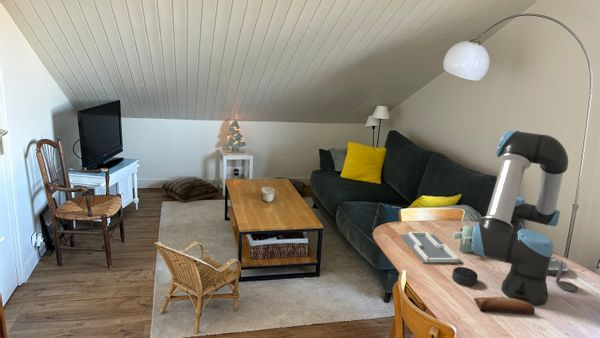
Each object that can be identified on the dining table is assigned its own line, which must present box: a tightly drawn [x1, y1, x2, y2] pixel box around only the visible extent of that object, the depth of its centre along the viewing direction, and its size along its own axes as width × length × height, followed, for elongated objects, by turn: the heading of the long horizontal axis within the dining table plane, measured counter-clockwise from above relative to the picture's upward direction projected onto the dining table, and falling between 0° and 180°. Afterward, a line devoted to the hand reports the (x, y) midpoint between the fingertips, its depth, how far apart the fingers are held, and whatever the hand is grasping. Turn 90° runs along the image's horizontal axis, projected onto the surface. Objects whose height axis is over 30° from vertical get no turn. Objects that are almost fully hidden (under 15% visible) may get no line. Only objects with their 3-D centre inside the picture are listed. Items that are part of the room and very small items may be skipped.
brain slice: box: [547, 255, 570, 276], centre depth 184 cm, size 20×17×3 cm
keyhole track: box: [399, 231, 463, 265], centre depth 193 cm, size 28×17×2 cm, turn 8°
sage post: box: [458, 225, 473, 254], centre depth 192 cm, size 5×5×11 cm
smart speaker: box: [451, 266, 478, 287], centre depth 166 cm, size 9×9×4 cm
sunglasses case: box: [473, 296, 536, 316], centre depth 150 cm, size 18×7×7 cm
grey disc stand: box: [555, 260, 579, 292], centre depth 166 cm, size 8×8×10 cm
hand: (458, 238), depth 190 cm, fingers closed on sage post, 5 cm apart
